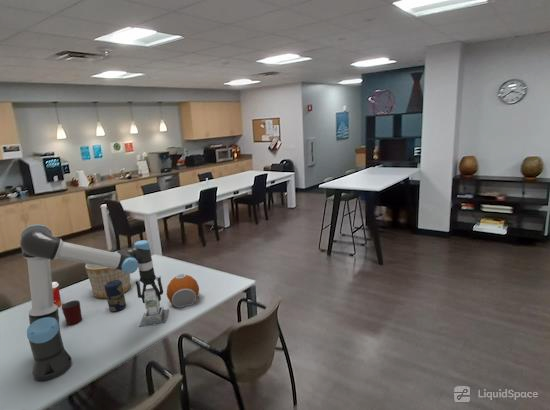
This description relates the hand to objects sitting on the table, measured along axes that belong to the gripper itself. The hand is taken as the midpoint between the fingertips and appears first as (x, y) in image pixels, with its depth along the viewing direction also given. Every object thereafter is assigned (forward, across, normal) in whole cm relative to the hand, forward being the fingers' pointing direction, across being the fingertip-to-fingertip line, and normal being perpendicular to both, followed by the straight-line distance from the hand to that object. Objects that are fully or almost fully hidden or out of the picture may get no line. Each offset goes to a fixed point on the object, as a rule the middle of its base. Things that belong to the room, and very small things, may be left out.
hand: (153, 306), depth 194 cm
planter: (+7, +35, -46) cm, 58 cm away
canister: (+7, +25, -19) cm, 32 cm away
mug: (+7, +48, -11) cm, 50 cm away
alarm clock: (+7, -15, -14) cm, 22 cm away
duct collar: (+7, 0, 0) cm, 7 cm away
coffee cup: (+7, +66, -35) cm, 75 cm away
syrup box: (+4, 0, 0) cm, 4 cm away
